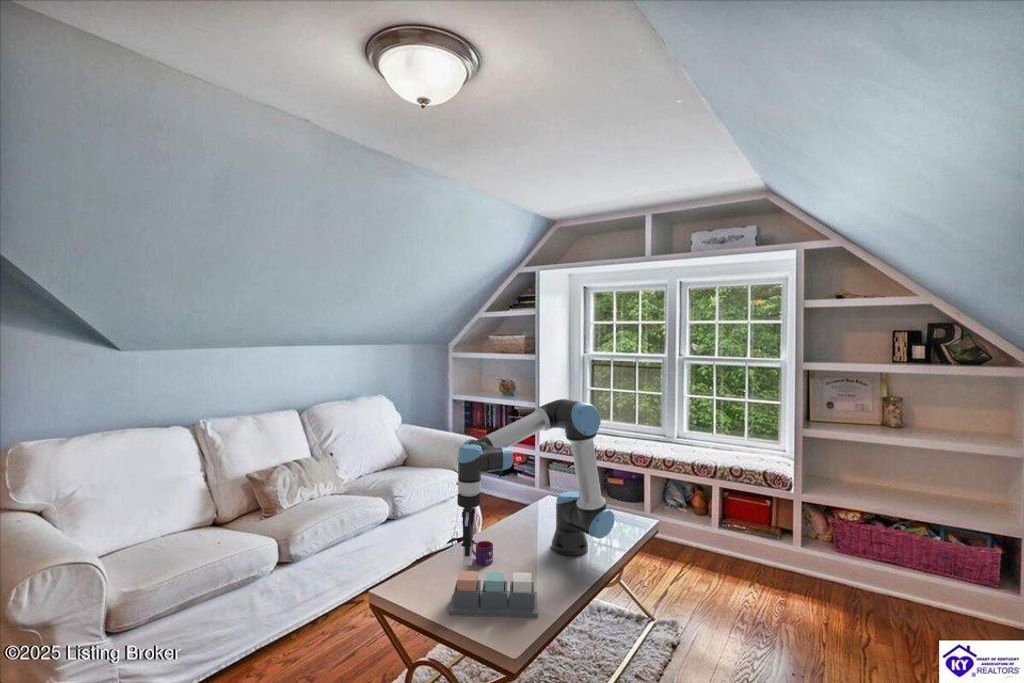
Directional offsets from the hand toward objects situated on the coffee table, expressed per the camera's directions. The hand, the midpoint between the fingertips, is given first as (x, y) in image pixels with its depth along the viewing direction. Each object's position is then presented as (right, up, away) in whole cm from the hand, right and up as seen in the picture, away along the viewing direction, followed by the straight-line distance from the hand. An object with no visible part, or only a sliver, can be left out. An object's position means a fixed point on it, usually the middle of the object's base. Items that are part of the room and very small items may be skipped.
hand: (467, 564), depth 158 cm
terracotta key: (0, -9, 0) cm, 9 cm away
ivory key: (+18, -9, 0) cm, 20 cm away
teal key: (+9, -9, 0) cm, 13 cm away
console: (+9, -13, 0) cm, 16 cm away
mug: (+3, -13, +31) cm, 34 cm away
